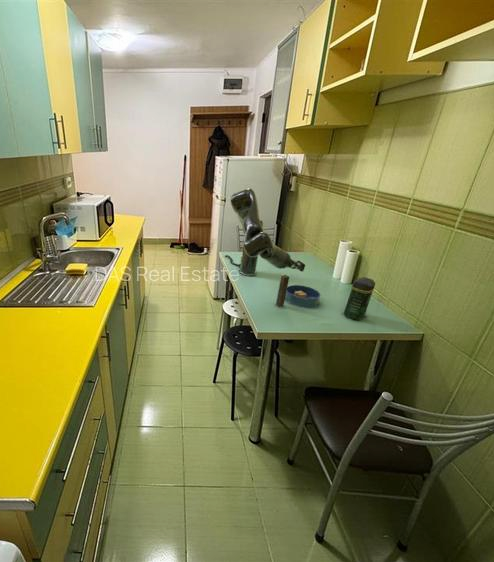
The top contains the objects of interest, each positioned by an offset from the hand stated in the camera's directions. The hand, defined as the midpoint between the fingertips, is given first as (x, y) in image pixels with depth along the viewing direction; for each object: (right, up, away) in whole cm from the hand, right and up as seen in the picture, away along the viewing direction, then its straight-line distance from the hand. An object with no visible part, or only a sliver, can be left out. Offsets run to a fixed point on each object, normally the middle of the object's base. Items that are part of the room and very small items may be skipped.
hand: (293, 267), depth 138 cm
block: (+10, -16, +17) cm, 25 cm away
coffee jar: (+30, -22, +4) cm, 38 cm away
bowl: (+11, -16, +18) cm, 26 cm away
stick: (-2, -18, +12) cm, 22 cm away
